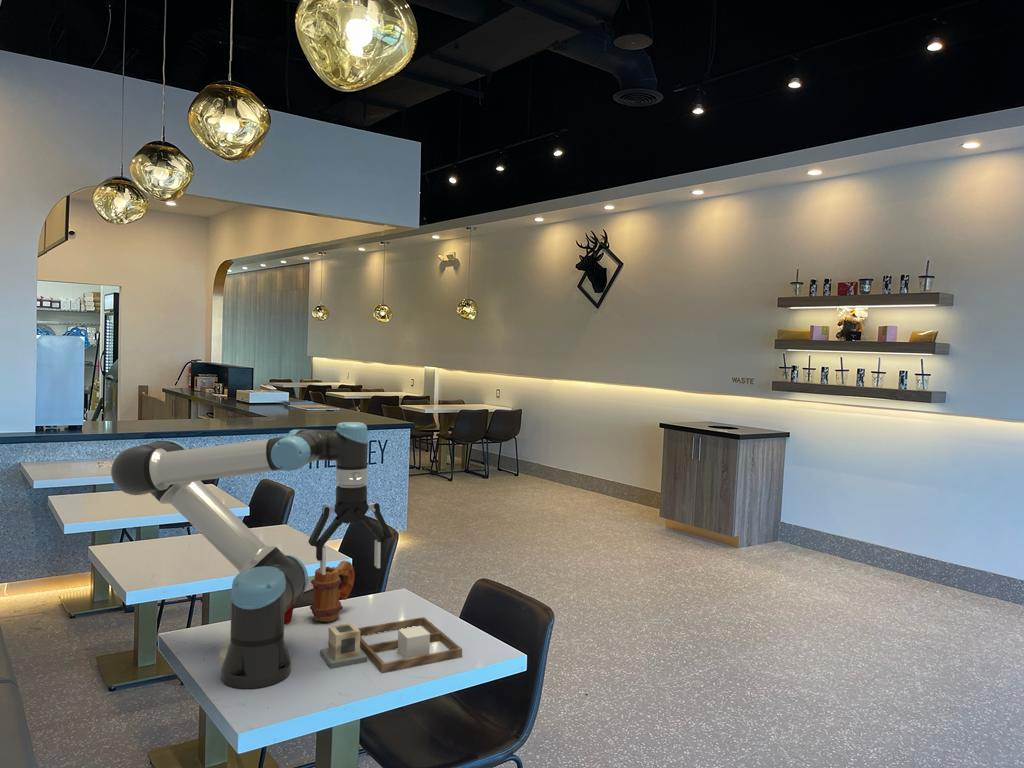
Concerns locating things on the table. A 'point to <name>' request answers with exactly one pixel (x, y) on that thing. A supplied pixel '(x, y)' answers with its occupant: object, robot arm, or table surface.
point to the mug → (331, 591)
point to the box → (388, 645)
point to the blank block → (413, 642)
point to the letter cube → (344, 641)
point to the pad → (342, 662)
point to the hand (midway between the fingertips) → (350, 570)
